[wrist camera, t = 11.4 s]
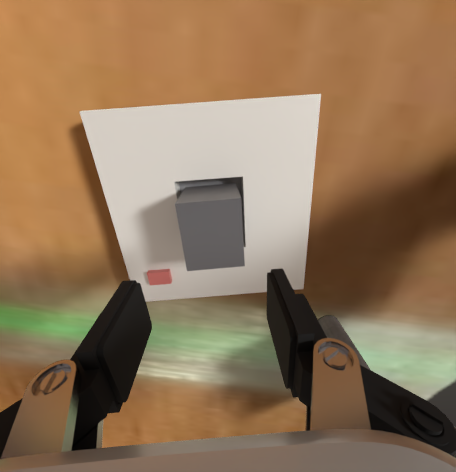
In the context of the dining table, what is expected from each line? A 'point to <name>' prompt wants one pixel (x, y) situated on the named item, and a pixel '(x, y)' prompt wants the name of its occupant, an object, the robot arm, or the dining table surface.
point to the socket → (208, 173)
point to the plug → (211, 226)
